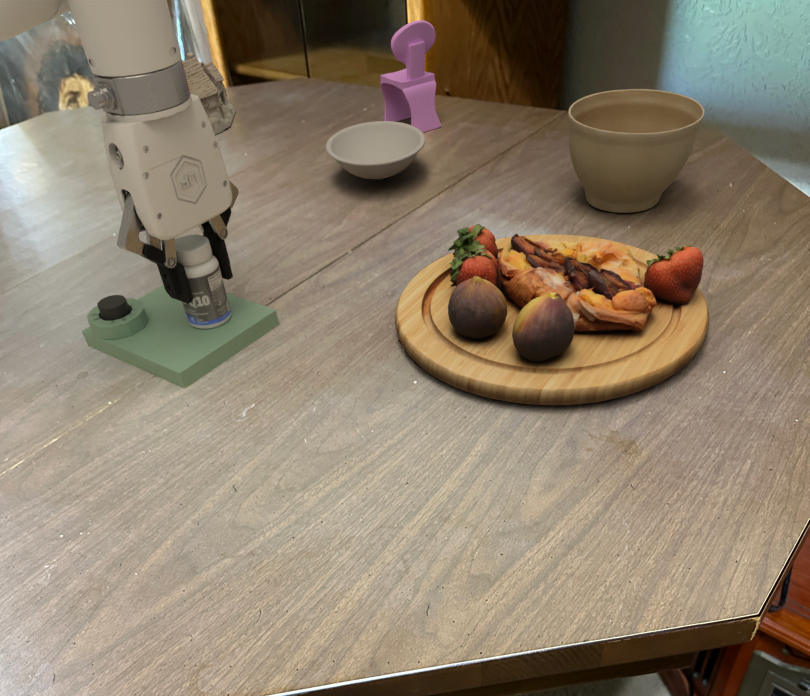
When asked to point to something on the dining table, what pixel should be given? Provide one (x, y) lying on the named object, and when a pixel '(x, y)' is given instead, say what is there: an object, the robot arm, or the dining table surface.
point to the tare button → (113, 307)
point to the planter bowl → (631, 145)
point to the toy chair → (411, 78)
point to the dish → (376, 148)
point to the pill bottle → (203, 283)
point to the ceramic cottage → (209, 92)
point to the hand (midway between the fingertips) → (201, 285)
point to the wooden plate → (553, 317)
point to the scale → (176, 336)
